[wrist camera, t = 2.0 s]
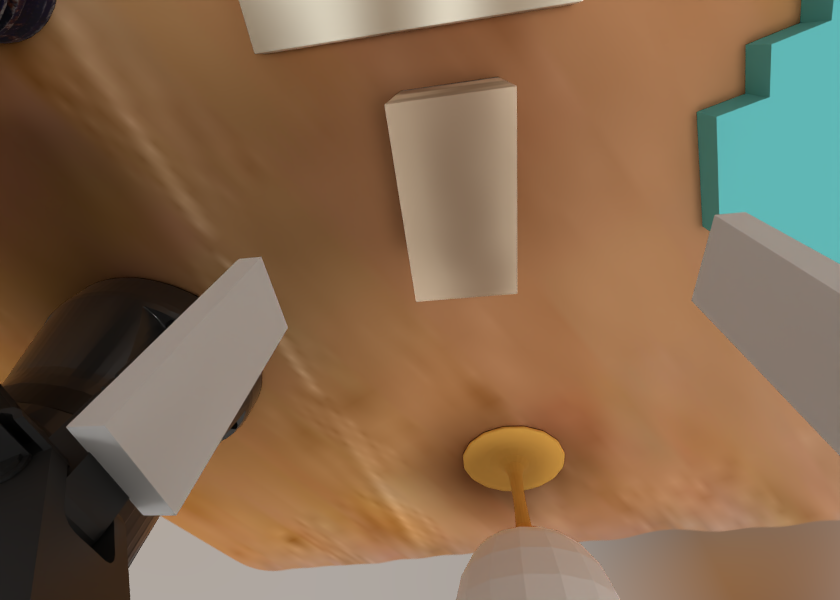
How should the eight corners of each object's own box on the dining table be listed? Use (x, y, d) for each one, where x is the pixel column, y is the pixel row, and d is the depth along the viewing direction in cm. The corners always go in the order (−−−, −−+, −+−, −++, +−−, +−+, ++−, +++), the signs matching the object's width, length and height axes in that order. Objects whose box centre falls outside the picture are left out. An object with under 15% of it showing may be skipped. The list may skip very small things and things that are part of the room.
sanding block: (422, 247, 25) (416, 301, 20) (401, 90, 21) (384, 104, 15) (501, 240, 25) (517, 293, 19) (497, 76, 20) (516, 85, 15)
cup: (604, 468, 36) (709, 750, 21) (495, 510, 40) (522, 766, 26) (534, 393, 31) (609, 683, 17) (421, 449, 36) (404, 717, 21)
